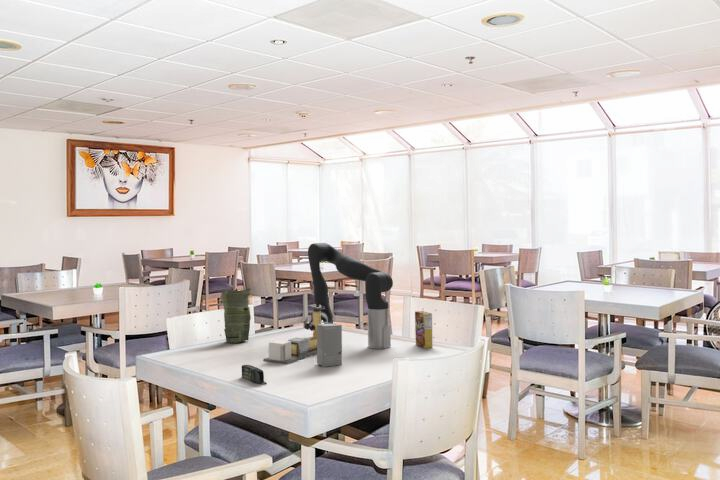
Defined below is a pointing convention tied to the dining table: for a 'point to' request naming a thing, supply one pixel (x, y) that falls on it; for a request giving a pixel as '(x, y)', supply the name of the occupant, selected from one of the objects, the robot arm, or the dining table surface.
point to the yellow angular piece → (313, 341)
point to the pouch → (236, 315)
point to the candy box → (423, 329)
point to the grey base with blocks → (302, 351)
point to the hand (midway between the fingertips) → (316, 328)
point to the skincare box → (329, 344)
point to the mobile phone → (253, 374)
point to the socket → (280, 350)
